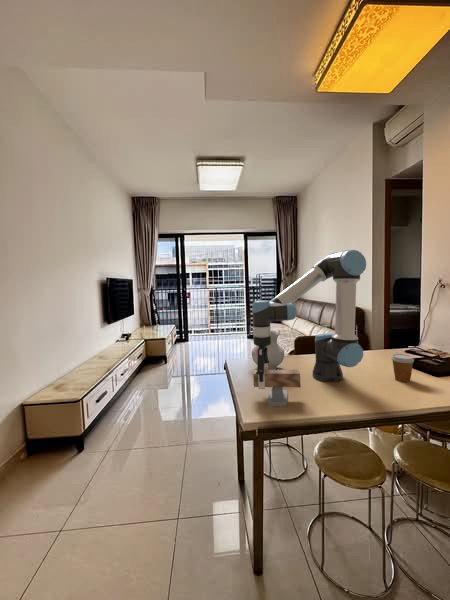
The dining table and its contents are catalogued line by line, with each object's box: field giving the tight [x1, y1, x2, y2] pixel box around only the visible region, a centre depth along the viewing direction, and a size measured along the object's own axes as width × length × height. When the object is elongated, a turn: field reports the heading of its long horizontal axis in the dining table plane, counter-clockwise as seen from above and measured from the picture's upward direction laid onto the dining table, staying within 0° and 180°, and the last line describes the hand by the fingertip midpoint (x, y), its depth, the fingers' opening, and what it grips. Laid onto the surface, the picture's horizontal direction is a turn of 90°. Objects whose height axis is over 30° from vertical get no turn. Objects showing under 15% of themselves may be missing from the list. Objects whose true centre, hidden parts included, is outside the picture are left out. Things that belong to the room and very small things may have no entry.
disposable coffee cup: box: [391, 353, 415, 383], centre depth 133 cm, size 10×10×12 cm
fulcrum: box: [266, 387, 288, 408], centre depth 118 cm, size 8×14×6 cm, turn 165°
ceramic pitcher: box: [251, 329, 285, 370], centre depth 159 cm, size 22×20×25 cm
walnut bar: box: [252, 369, 301, 388], centre depth 118 cm, size 20×5×6 cm, turn 83°
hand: (263, 382), depth 119 cm, fingers open, 13 cm apart
